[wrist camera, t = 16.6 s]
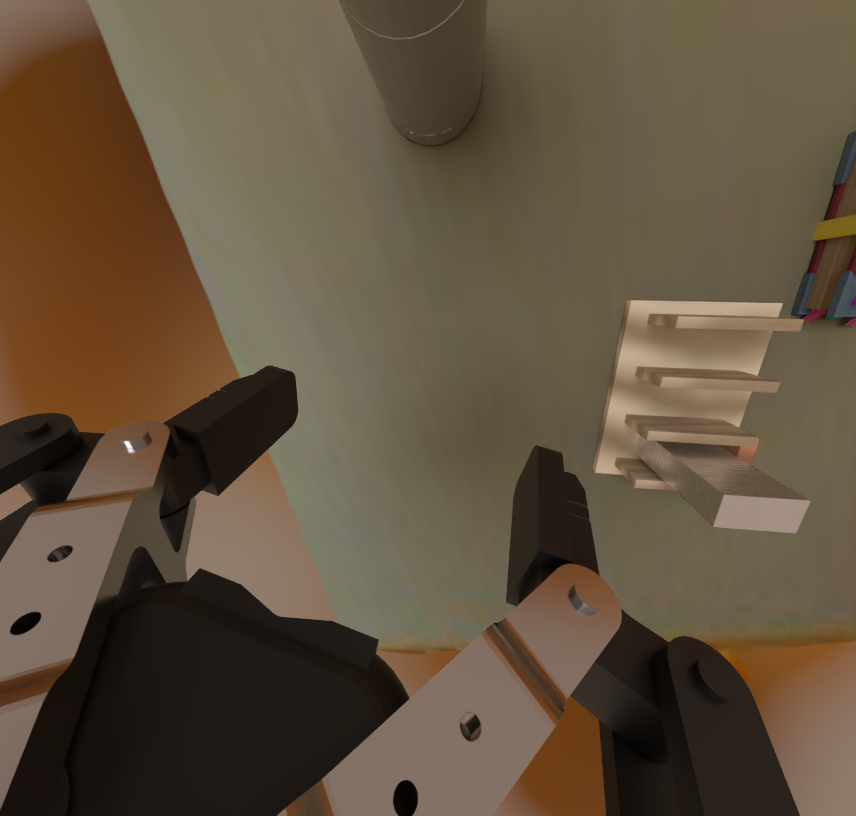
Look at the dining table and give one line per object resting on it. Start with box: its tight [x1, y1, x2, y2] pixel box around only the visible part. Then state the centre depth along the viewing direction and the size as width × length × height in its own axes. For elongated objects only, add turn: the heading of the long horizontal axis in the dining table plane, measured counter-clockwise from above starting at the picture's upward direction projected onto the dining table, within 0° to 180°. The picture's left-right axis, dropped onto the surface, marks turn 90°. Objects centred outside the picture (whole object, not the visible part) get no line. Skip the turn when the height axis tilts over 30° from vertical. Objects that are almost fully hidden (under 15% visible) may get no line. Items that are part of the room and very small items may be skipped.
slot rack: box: [592, 300, 804, 491], centre depth 34 cm, size 20×14×6 cm
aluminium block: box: [636, 435, 811, 533], centre depth 32 cm, size 3×6×13 cm, turn 89°
